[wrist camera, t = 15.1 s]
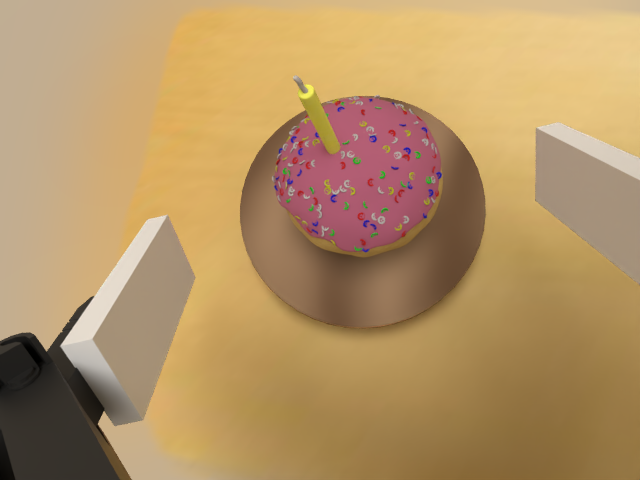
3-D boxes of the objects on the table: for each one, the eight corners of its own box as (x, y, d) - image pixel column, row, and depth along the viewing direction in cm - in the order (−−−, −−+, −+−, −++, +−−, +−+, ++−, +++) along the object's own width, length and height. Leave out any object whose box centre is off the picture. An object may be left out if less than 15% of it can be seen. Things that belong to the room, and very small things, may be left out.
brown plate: (479, 127, 31) (490, 102, 28) (468, 345, 27) (479, 344, 24) (271, 113, 33) (262, 90, 30) (234, 314, 29) (219, 309, 26)
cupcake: (276, 254, 27) (203, 173, 15) (311, 131, 29) (269, -24, 17) (417, 285, 25) (455, 222, 14) (443, 153, 27) (495, 0, 16)
